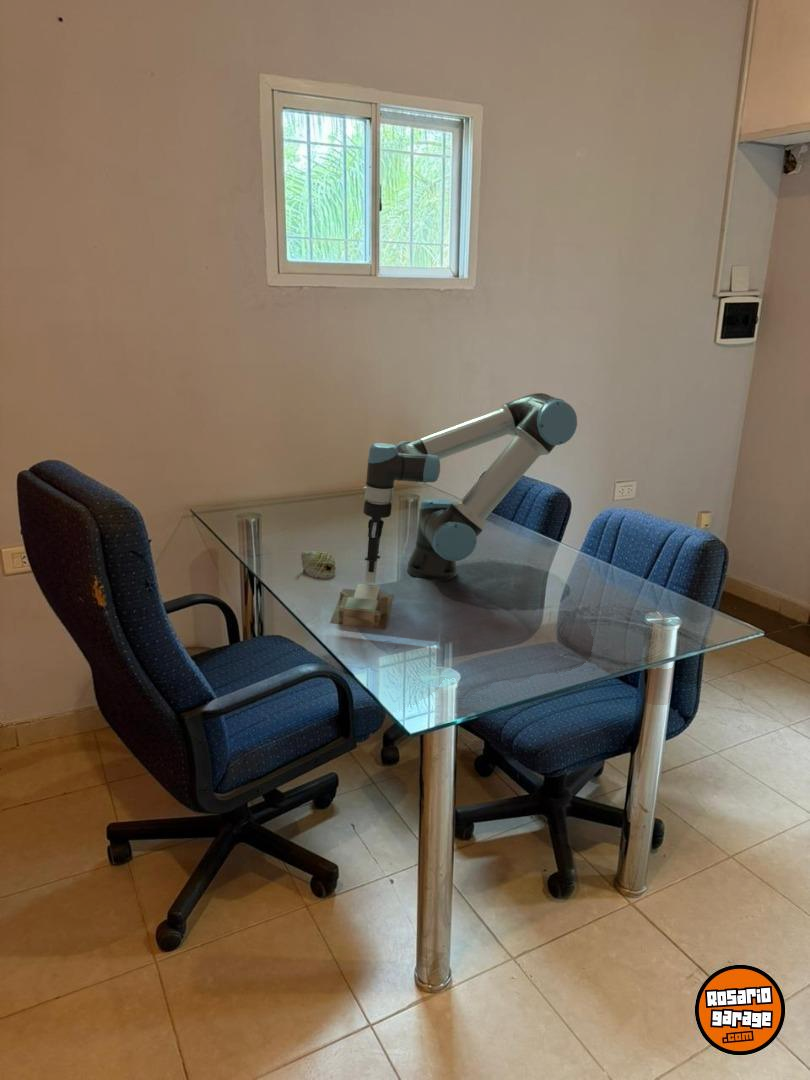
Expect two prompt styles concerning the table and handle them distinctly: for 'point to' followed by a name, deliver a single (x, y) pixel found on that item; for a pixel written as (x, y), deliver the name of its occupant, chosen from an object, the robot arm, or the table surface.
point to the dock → (362, 610)
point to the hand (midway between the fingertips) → (370, 581)
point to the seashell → (318, 564)
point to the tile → (367, 591)
